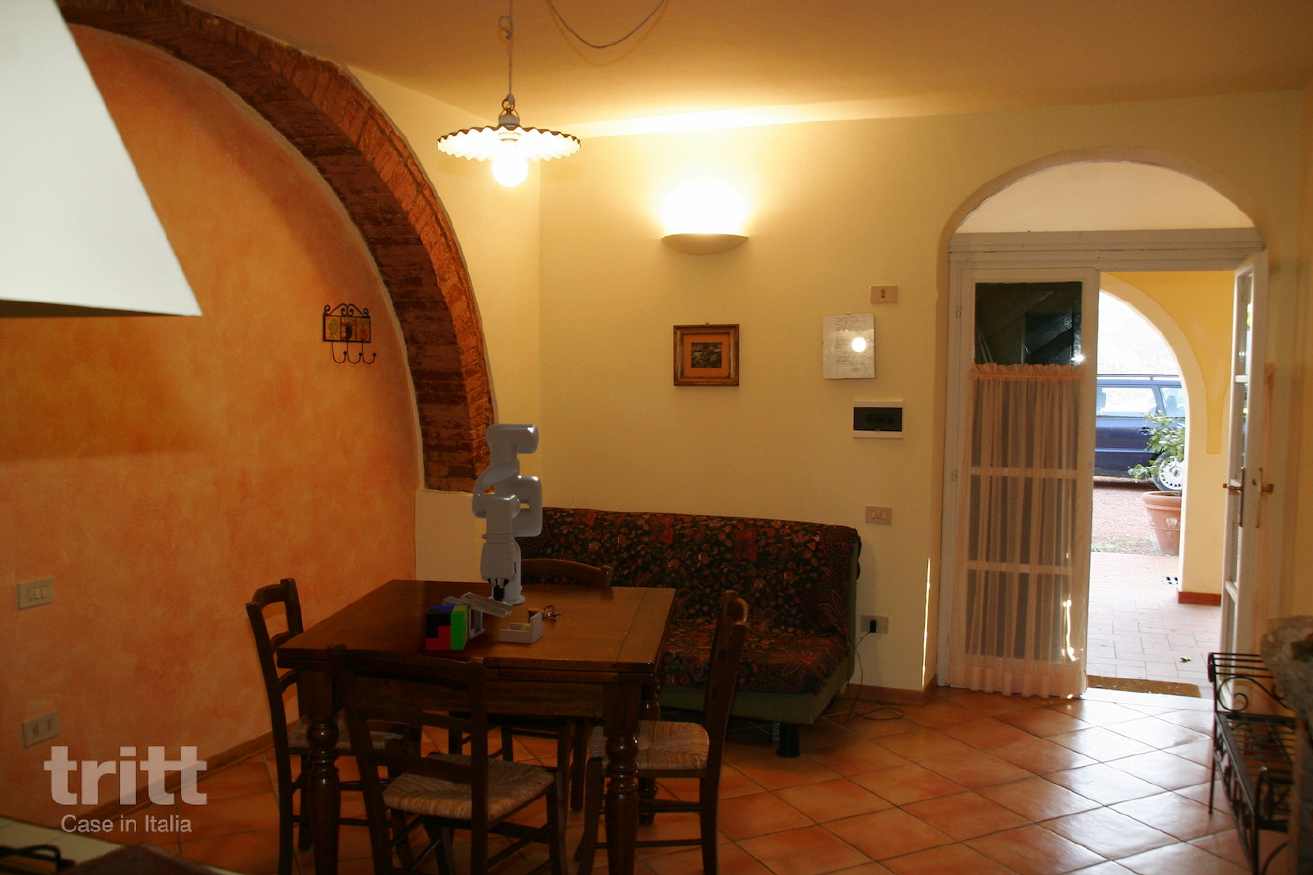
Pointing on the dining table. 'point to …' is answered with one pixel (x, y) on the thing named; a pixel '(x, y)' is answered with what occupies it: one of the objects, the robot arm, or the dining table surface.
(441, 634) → the puzzle toy
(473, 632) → the stand
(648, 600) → the dining table surface
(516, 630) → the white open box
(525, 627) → the ball
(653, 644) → the dining table surface
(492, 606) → the lever
